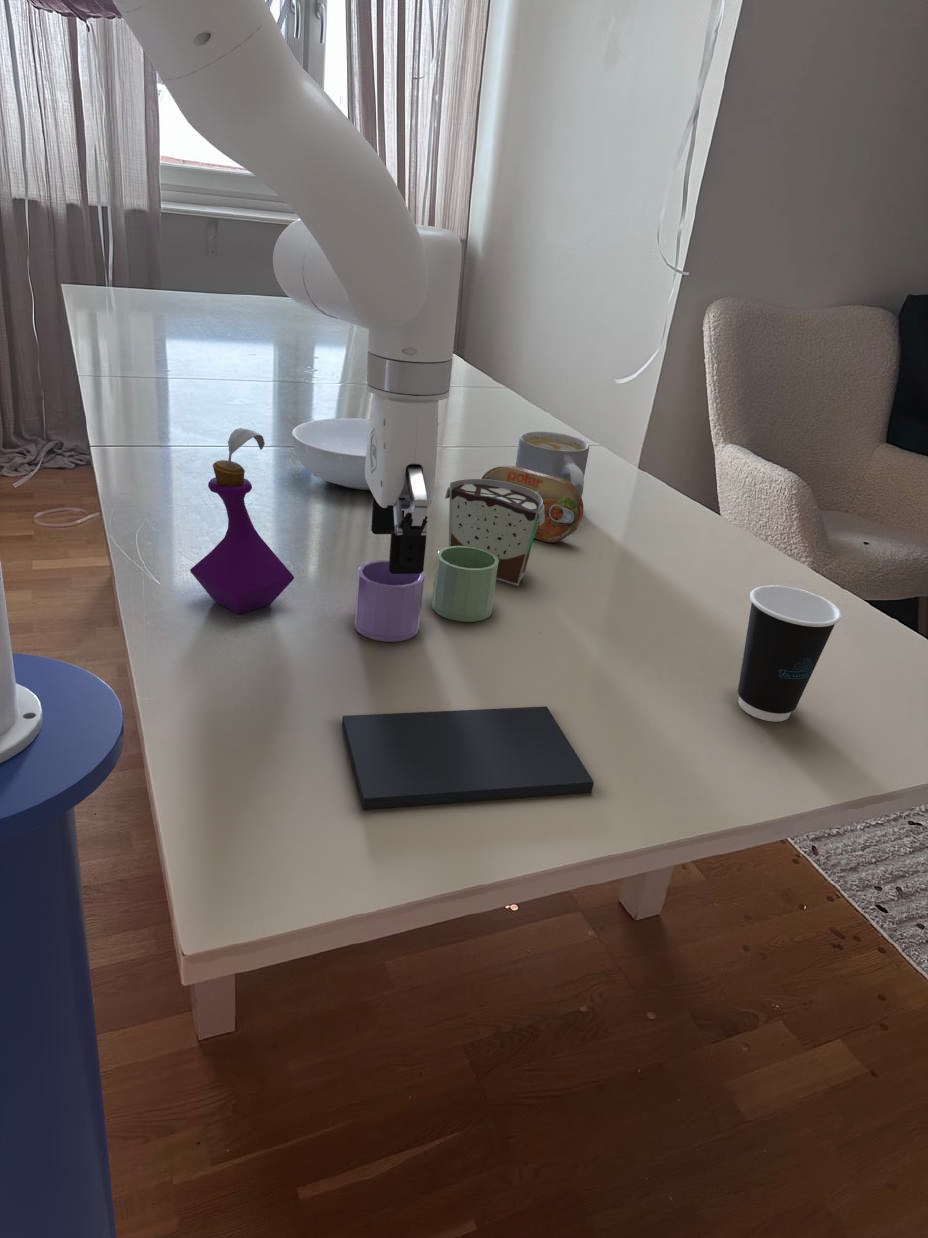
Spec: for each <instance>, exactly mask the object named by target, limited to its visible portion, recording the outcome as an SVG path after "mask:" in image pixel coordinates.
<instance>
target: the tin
mask: <svg viewBox="0 0 928 1238" xmlns="http://www.w3.org/2000/svg"><path fill="white" fill-rule="evenodd" d="M480 479H489V480H498V481H504V482H509V483H513V484H516V485H520V486H523V487H526V488H528V489H530V490H532V491H534V492H536V493H537V494H538V495H540V497H541V498H542V500H543V504H544V513H545V521H544V522H543V524H542V525H539V521H538V525H537V528H536V532H535V536H534V539H535V540H538V541H541V542H545V543H557V542H560V541H563V540H565V539H566V538H567V537H569V536H571V535H572V534H574V533H575V532H576V531H577V530H578V528H579V527H580V525H581V524H582V520H583V517H584V502H583V497H581V495H580V493H579V492H578V490H577V489H576V488H575V486H574V485H572V484H571V483H570V482H568V481H567V480H565V479H562V478H558V477H554V476H550V475H546V474H542V473H538V472H534V471H531V470H527V469H523V468H520V467H516V465H503V466H496V467H493V468H491V469H489V470H487V471H486V472H484V474H483V475H482V477H481V478H480Z"/></svg>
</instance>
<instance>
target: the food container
mask: <svg viewBox="0 0 928 1238" xmlns="http://www.w3.org/2000/svg"><path fill="white" fill-rule="evenodd" d="M444 499H445V500H448V499H449V507H448V508H449V509H448V510H449V511H448V514H449V515H448V516H449V517H448V547H451V546H470V547H476V548H480V549H483V550H486V551H489V552H491V553H492V554H494V555H496V557H497V558H498V559H499V565H498V572H497V579H496V581H500V582H502V583H503V582H504V583H507V584H510V585H513V586H516V587H519V586H521V585H522V583H523V580H524V577H525V573H526V568H527V565H528V562H529V559H530V554H531V551H532V547H533V543H534V539H535V538H534V536H535V532H536V528H537V525H538V521H539V525H542V524H543V522H544V521H545V513H544V504H543V500H542V498H541V497H540V495H538V494H537V493H536V492H534V491H532V490H530V489H528V488H526V487H523V486H520V485H516V484H513V483H509V482H504V481H498V480H489V479H481V478H465V479H458V480H454V481H452V482H450V484H449V486H448V487H447V489H446V493H445V496H444Z"/></svg>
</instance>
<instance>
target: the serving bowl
mask: <svg viewBox="0 0 928 1238" xmlns="http://www.w3.org/2000/svg"><path fill="white" fill-rule="evenodd" d="M369 421H370V418H358V417H357V418H356V417H355V418H353V417H351V418H349V417H342V418H341V417H339V418H324V419H317V420H311V421H307V422H303V423H301V424H298V425H297V426H296V427H294V428H293V429H292V431H291V437H292V444H293V450H294V452H295V455H296V457H297V459H298V461H299V462H300V464H302V466H303V467H304V468H305V469H306V470H307V471H308V472H309V473H311V474H312V475H313V476H315V477H317V478H319V479H321V480H323V481H325V482H328V483H331V484H334V485H338V486H341V487H344V488H349V489H353V490H361V491H363V490H364V491H371V490H370V488H369V486H368V484H367V481H366V478H365V462H366V452H367V441H368V431H369Z"/></svg>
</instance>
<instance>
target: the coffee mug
mask: <svg viewBox="0 0 928 1238" xmlns="http://www.w3.org/2000/svg"><path fill="white" fill-rule="evenodd" d="M517 445H518V446H517V454H516V460H515V466H516V467H520V468H523V469H527V470H531V471H534V472H538V473H542V474H546V475H550V476H554V477H558V478H562V479H565V480H567V481H568V482H570V483H571V484H572V485H574V486H575V488H576V489H577V490H578V492H579V493H580V495H581V498H583V493H584V486H585V475H586V470H587V469H586V468H587V463H588V458H589V451H590V444H589V443H588V442H587V441H585V440H584V439H583V438H579V437H577V436H573V435H571V434H567V433H562V432H555V431H554V432H553V431H545V430H543V431H541V430H535V431H526V432H523V433H521V434H520V436H519V439H518V444H517Z"/></svg>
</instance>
